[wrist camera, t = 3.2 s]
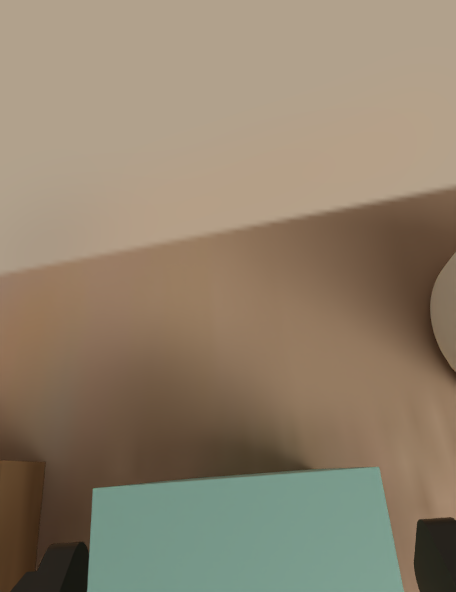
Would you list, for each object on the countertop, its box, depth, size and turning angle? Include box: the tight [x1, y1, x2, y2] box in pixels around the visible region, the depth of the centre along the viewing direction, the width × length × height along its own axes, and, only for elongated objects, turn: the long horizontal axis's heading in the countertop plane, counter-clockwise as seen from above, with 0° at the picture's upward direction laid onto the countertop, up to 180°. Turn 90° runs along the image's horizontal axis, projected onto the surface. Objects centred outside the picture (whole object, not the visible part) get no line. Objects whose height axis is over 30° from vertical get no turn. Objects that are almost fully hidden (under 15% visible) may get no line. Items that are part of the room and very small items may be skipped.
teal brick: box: [87, 467, 404, 592], centre depth 10 cm, size 4×4×10 cm
